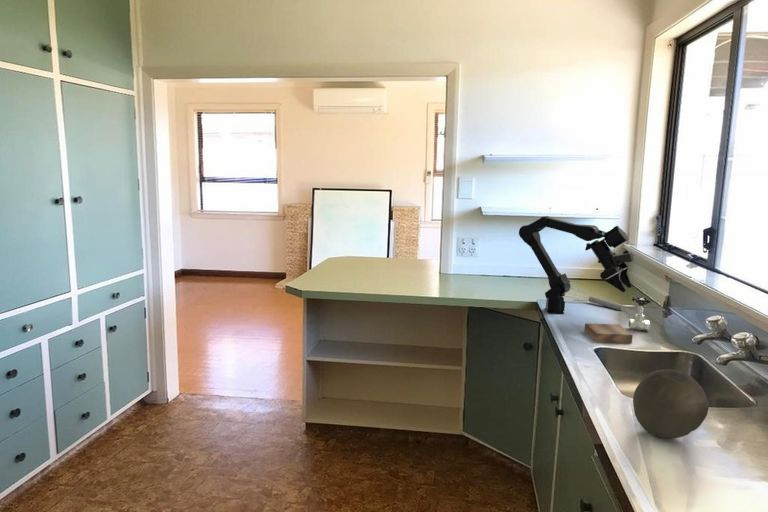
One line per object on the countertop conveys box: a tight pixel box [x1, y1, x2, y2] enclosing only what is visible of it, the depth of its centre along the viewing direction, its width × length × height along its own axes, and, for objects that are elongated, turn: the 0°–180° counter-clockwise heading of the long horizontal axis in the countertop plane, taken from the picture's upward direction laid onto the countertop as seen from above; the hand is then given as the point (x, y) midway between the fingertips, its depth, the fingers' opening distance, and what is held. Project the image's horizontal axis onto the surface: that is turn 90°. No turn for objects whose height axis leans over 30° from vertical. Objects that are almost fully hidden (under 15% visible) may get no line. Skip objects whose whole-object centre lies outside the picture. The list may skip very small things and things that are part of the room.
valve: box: [627, 296, 652, 331], centre depth 196 cm, size 7×7×12 cm
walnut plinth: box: [584, 323, 633, 344], centre depth 188 cm, size 12×12×3 cm
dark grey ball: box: [632, 368, 710, 440], centre depth 117 cm, size 14×14×15 cm
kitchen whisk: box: [563, 285, 628, 311], centre depth 235 cm, size 6×34×6 cm, turn 39°
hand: (627, 289), depth 201 cm, fingers open, 9 cm apart
